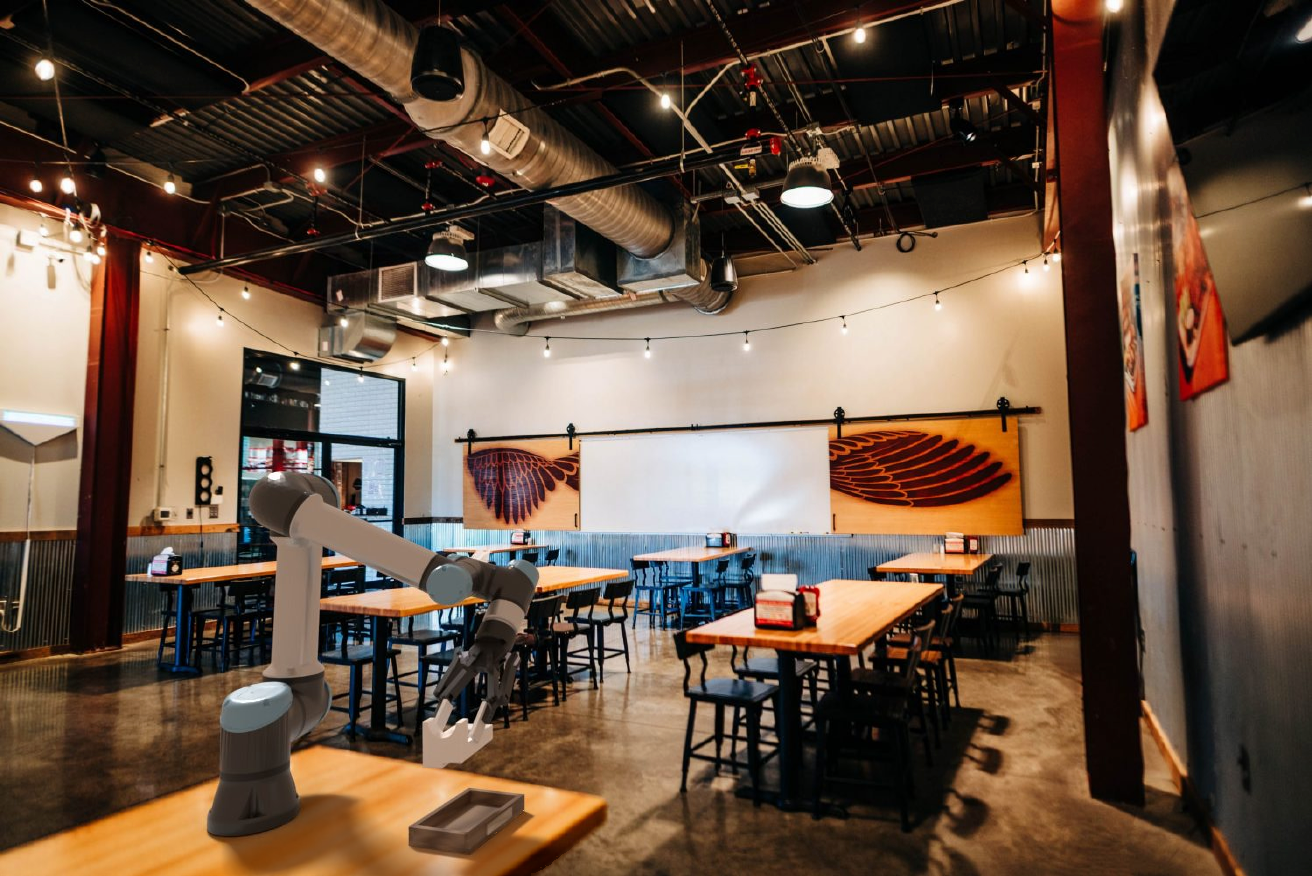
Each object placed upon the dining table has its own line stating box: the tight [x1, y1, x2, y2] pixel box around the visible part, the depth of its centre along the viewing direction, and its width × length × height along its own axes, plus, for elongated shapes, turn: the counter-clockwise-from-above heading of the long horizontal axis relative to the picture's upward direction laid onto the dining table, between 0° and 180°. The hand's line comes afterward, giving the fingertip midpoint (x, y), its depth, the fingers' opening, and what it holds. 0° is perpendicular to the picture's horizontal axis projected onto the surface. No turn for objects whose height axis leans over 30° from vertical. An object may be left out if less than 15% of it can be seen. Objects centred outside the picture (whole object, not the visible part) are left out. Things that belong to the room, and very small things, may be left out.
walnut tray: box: [408, 787, 525, 855], centre depth 131 cm, size 12×18×3 cm
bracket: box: [422, 717, 494, 769], centre depth 132 cm, size 13×7×8 cm, turn 169°
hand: (453, 737), depth 130 cm, fingers closed on bracket, 7 cm apart
